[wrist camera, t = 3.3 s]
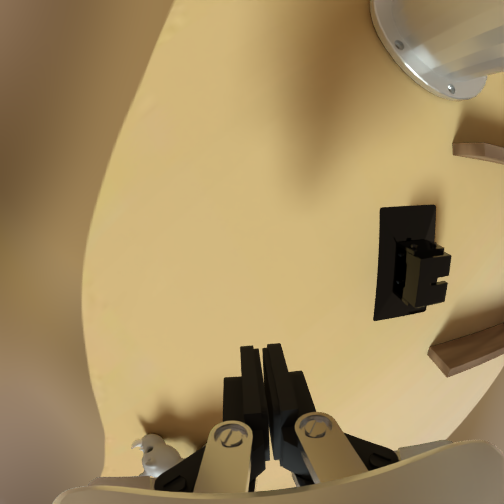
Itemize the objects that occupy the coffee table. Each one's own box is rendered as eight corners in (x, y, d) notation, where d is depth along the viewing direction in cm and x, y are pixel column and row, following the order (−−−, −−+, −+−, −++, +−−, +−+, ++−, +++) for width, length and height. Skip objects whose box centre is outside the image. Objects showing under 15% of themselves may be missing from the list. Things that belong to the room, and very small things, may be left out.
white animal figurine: (166, 400, 27) (118, 443, 19) (262, 459, 24) (235, 517, 16) (151, 433, 29) (109, 472, 21) (234, 486, 26) (207, 534, 18)
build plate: (425, 319, 23) (451, 345, 19) (357, 334, 23) (378, 365, 19) (438, 185, 20) (475, 192, 15) (363, 185, 20) (393, 192, 15)
